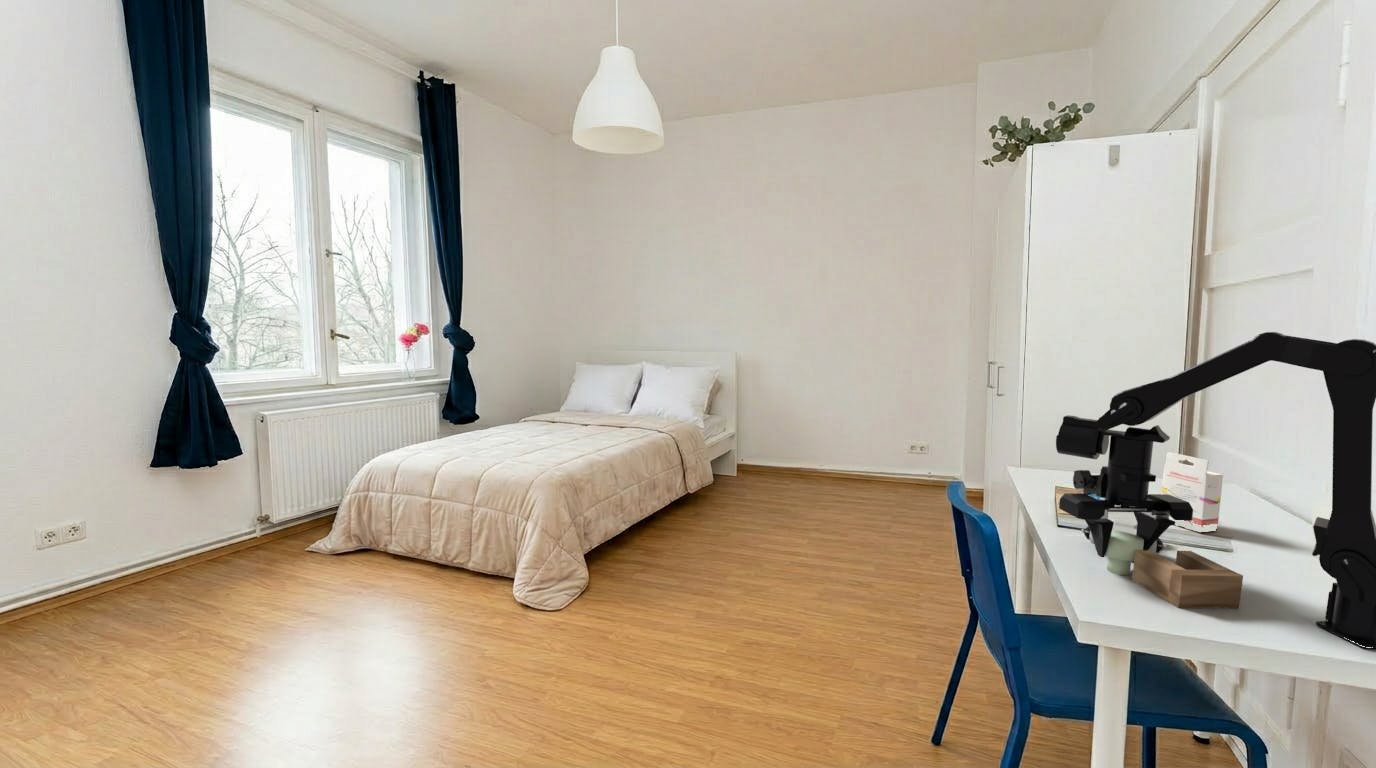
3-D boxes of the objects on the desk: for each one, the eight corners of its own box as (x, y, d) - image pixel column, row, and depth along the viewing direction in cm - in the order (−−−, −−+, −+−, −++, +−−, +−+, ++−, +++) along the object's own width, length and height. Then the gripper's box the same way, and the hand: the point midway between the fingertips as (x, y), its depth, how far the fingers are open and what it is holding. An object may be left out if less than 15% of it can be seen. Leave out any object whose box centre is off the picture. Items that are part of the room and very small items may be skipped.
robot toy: (1086, 533, 126) (1078, 550, 114) (1088, 511, 125) (1081, 526, 113) (1162, 548, 118) (1163, 568, 106) (1165, 524, 118) (1166, 542, 106)
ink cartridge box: (1218, 532, 125) (1227, 459, 123) (1200, 534, 124) (1209, 460, 122) (1174, 518, 133) (1181, 450, 132) (1157, 520, 132) (1164, 451, 130)
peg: (1149, 578, 102) (1153, 543, 101) (1112, 578, 102) (1116, 542, 101) (1123, 564, 108) (1126, 530, 107) (1088, 563, 108) (1092, 530, 107)
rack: (1239, 608, 92) (1243, 575, 92) (1178, 607, 92) (1182, 575, 92) (1187, 580, 102) (1190, 550, 101) (1132, 580, 102) (1135, 550, 101)
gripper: (1148, 454, 111) (1139, 539, 113) (1044, 452, 111) (1036, 538, 113) (1200, 470, 100) (1190, 564, 102) (1084, 468, 100) (1075, 563, 102)
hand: (1119, 556), depth 105 cm, fingers closed on peg, 6 cm apart
